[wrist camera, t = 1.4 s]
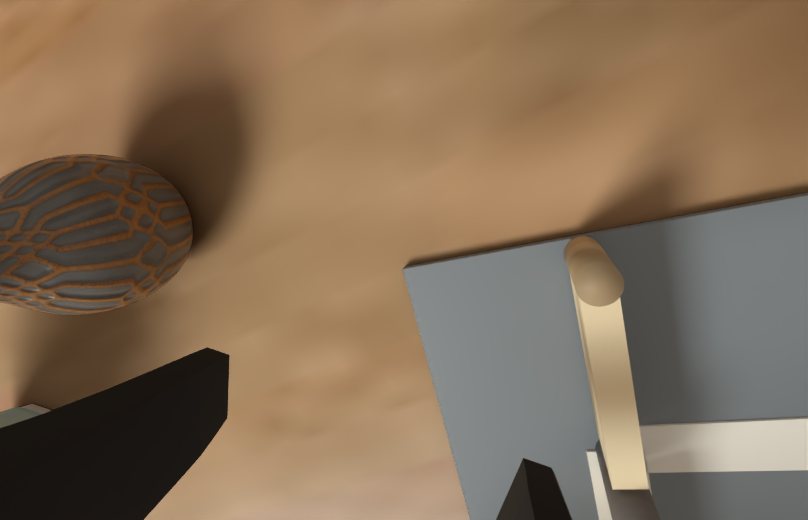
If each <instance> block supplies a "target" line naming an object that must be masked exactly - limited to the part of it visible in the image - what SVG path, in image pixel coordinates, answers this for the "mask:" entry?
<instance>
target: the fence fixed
mask: <svg viewBox="0 0 808 520" xmlns="http://www.w3.org/2000/svg"><path fill="white" fill-rule="evenodd" d="M595 449H596V454H597V458H598V462H599V466H600V471H601V475H602V479H603V483H604V487H605V491H606V496H607V500H608V504H609V508H610V512H611V516H612V520H660V517H659V514H658V511H657V509H656V506H655V503H654V500H653V498H652V495H651V492H650V489H615V490H613V489H612V485H611V482H610V478H609V474H608V470H607V466H606V462H605V459H604V455H603V451H602V447H601V443H600V439H599V440H598V442H597V443H596V447H595Z"/></svg>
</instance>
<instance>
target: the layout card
mask: <svg viewBox="0 0 808 520" xmlns="http://www.w3.org/2000/svg"><path fill="white" fill-rule="evenodd" d="M579 236H588V237H591V238H593V239H595V240H596V241H597V242H598V243H599V244H600V245H601V247H602V248H603V249H604V251H605V252H606V254H607V255H608V257H609V258H610V259H611V261H612V262H613V264H614V265H615V266H616V268H617V269H618V271H619V272H620V273H621V275H622V277H623V279H624V291H623V293H622V295H621V296H620V300H621V307H622V314H623V320H624V327H625V334H626V340H627V347H628V354H629V360H630V367H631V374H632V380H633V387H634V394H635V400H636V407H637V414H638V420H639V427H640V434H641V441H642V447H643V454H644V461H645V467H646V474H647V481H648V487H649V489H650V492H651V495H652V498H653V500H654V503H655V506H656V509H657V511H658V514H659V517H660V520H808V192H807V193H802V194H796V195H791V196H785V197H780V198H775V199H769V200H764V201H758V202H753V203H747V204H742V205H737V206H731V207H726V208H720V209H715V210H709V211H704V212H699V213H693V214H688V215H682V216H677V217H671V218H666V219H661V220H655V221H650V222H644V223H639V224H633V225H628V226H623V227H617V228H612V229H606V230H601V231H595V232H590V233H585V234H579V235H574V236H568V237H563V238H557V239H552V240H547V241H541V242H536V243H530V244H525V245H519V246H514V247H509V248H503V249H498V250H492V251H487V252H481V253H476V254H471V255H465V256H460V257H454V258H449V259H443V260H438V261H433V262H427V263H422V264H416V265H411V266H405V267H404V268H403V273H404V276H405V280H406V284H407V287H408V291H409V295H410V299H411V302H412V306H413V310H414V313H415V317H416V321H417V324H418V328H419V332H420V336H421V339H422V343H423V347H424V350H425V354H426V358H427V361H428V365H429V369H430V373H431V376H432V380H433V384H434V387H435V391H436V395H437V398H438V402H439V406H440V409H441V413H442V417H443V421H444V424H445V428H446V432H447V435H448V439H449V443H450V446H451V450H452V454H453V458H454V461H455V465H456V469H457V472H458V476H459V480H460V483H461V487H462V491H463V495H464V498H465V502H466V506H467V509H468V513H469V517H470V520H496V518H497V516H498V514H499V512H500V509H501V507H502V505H503V502H504V500H505V498H506V496H507V493H508V491H509V489H510V487H511V484H512V482H513V480H514V478H515V475H516V473H517V471H518V469H519V466H520V464H521V462H522V459H523V458H525V459H528V460H531V461H534V462H537V463H540V464H542V465H545V466H548V467H551V468H552V470H553V471H554V473H555V476H556V478H557V481H558V484H559V486H560V489H561V492H562V494H563V497H564V499H565V502H566V505H567V507H568V510H569V512H570V515H571V517H572V520H612V516H611V512H610V508H609V504H608V500H607V496H606V491H605V487H604V483H603V479H602V475H601V471H600V466H599V462H598V458H597V454H596V449H595V447H596V443H597V442H598V440H599V436H598V432H597V426H596V420H595V415H594V409H593V403H592V398H591V392H590V386H589V381H588V375H587V369H586V364H585V358H584V352H583V347H582V341H581V335H580V330H579V324H578V318H577V312H576V307H575V301H574V295H573V290H572V284H571V278H570V273H569V270H568V267H567V264H566V262H565V259H564V249H565V247H566V245H567V244H568V242H570V241H571V240H572V239H574V238H576V237H579Z"/></svg>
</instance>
